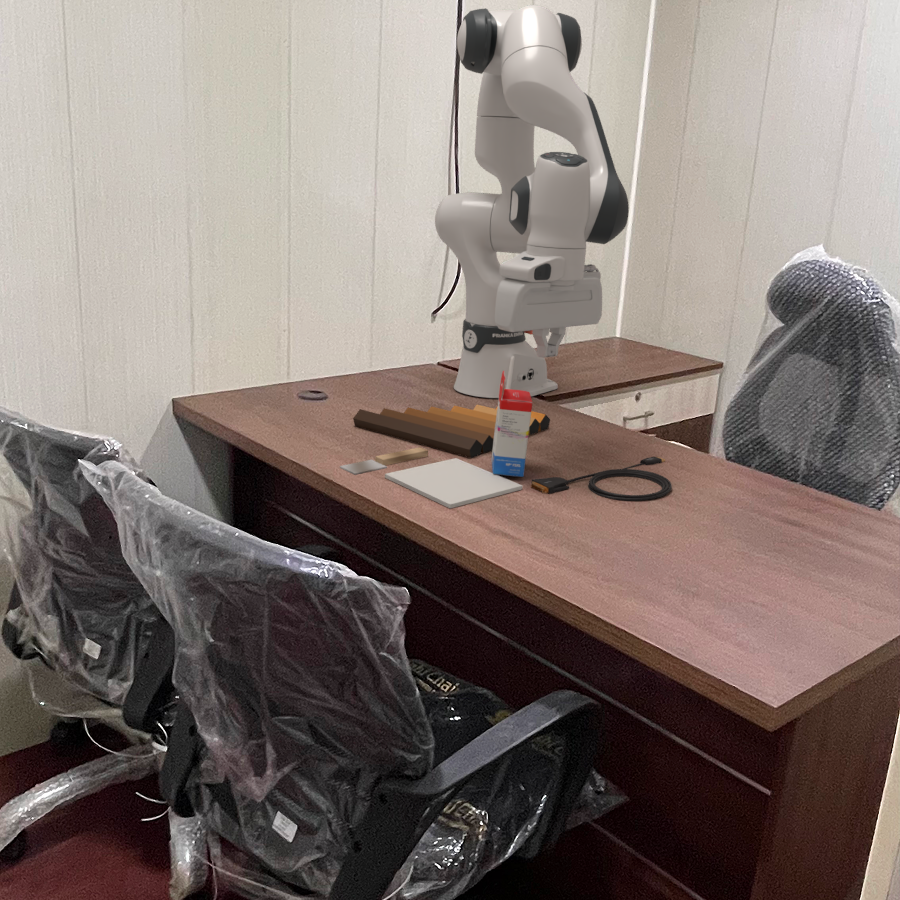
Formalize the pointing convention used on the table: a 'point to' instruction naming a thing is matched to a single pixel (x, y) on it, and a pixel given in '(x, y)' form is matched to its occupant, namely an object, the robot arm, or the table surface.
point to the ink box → (511, 431)
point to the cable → (560, 483)
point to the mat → (453, 482)
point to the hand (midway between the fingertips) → (547, 356)
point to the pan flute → (444, 427)
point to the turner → (385, 460)
